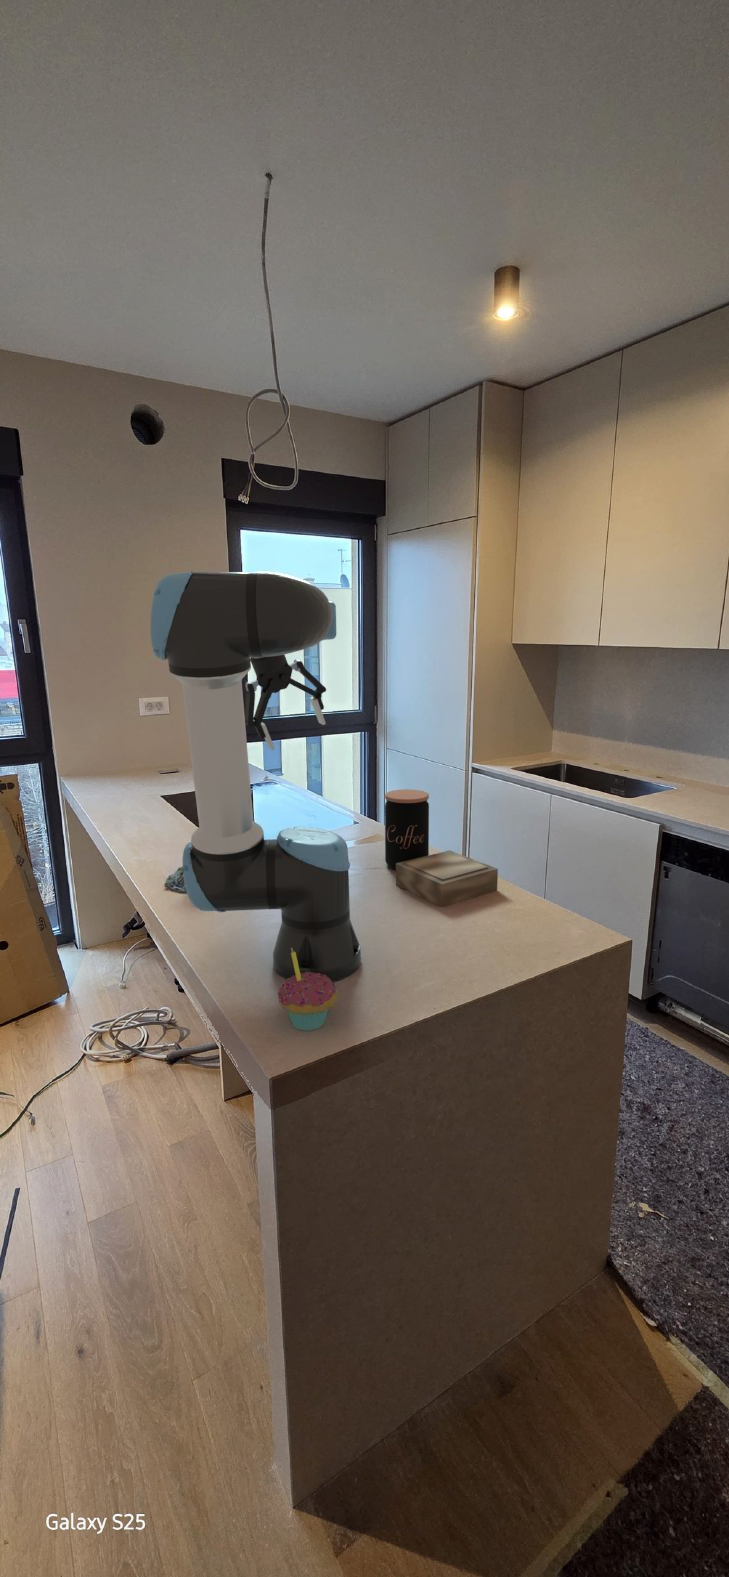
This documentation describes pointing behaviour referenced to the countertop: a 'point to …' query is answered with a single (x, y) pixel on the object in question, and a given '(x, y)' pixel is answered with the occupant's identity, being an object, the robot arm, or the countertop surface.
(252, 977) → the countertop surface
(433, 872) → the wooden tray
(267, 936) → the countertop surface
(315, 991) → the cupcake
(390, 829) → the coffee jar
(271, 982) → the countertop surface
